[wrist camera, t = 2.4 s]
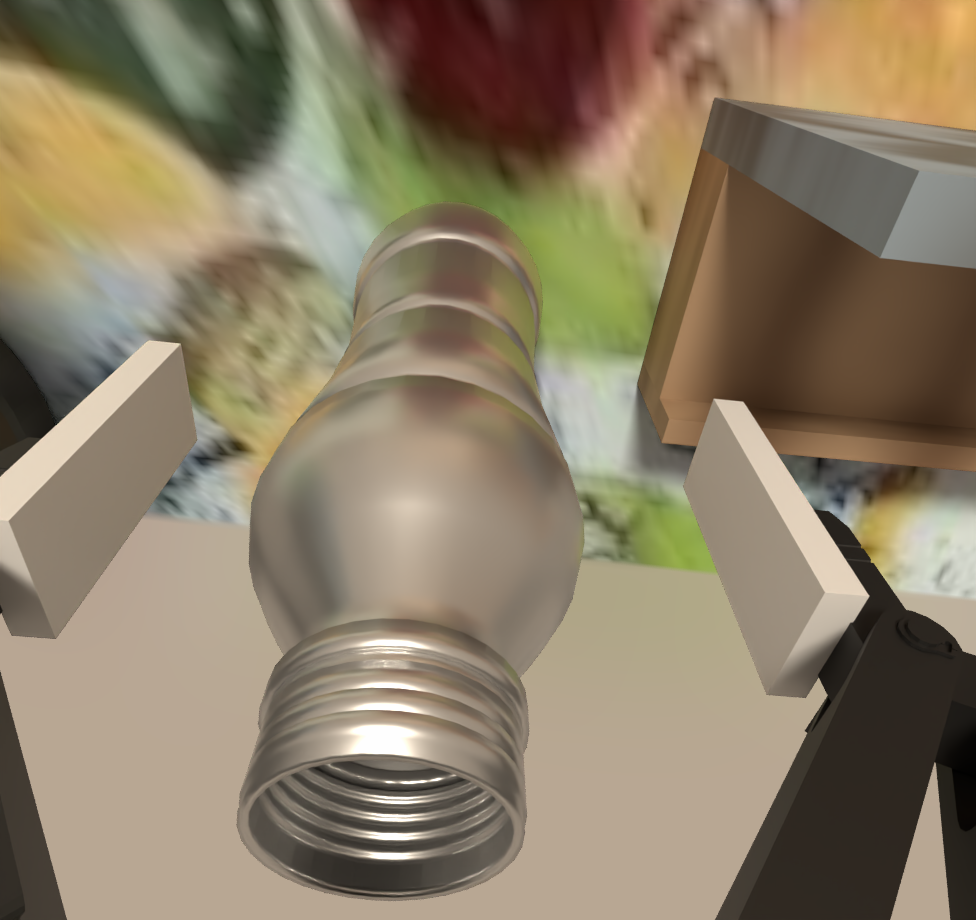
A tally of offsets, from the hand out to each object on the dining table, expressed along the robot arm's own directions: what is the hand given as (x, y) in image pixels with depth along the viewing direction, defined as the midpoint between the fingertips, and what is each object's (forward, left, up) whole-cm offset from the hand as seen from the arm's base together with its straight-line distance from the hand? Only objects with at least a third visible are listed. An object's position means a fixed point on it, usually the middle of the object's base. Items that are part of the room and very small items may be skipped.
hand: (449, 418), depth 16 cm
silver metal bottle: (0, 0, -10) cm, 10 cm away
